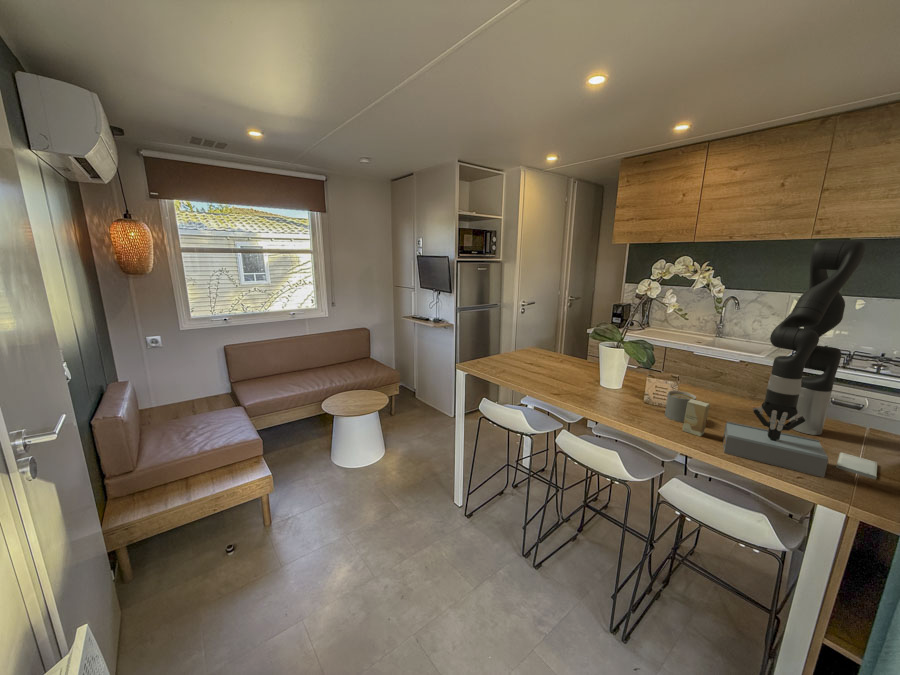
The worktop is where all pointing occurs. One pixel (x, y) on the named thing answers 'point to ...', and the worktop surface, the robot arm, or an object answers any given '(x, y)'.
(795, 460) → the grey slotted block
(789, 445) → the cover
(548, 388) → the worktop surface
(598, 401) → the worktop surface
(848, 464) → the hard drive
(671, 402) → the coffee mug
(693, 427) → the skincare box
